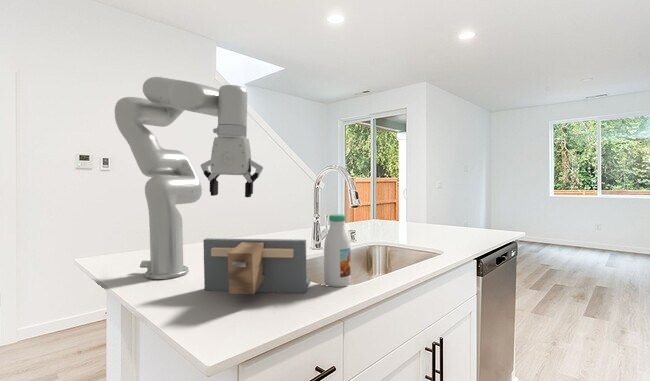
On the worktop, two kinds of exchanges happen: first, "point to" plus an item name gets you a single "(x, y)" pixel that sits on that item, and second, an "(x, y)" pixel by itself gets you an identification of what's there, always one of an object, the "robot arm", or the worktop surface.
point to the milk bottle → (337, 253)
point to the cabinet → (245, 268)
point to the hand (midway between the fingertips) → (231, 196)
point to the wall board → (277, 263)
